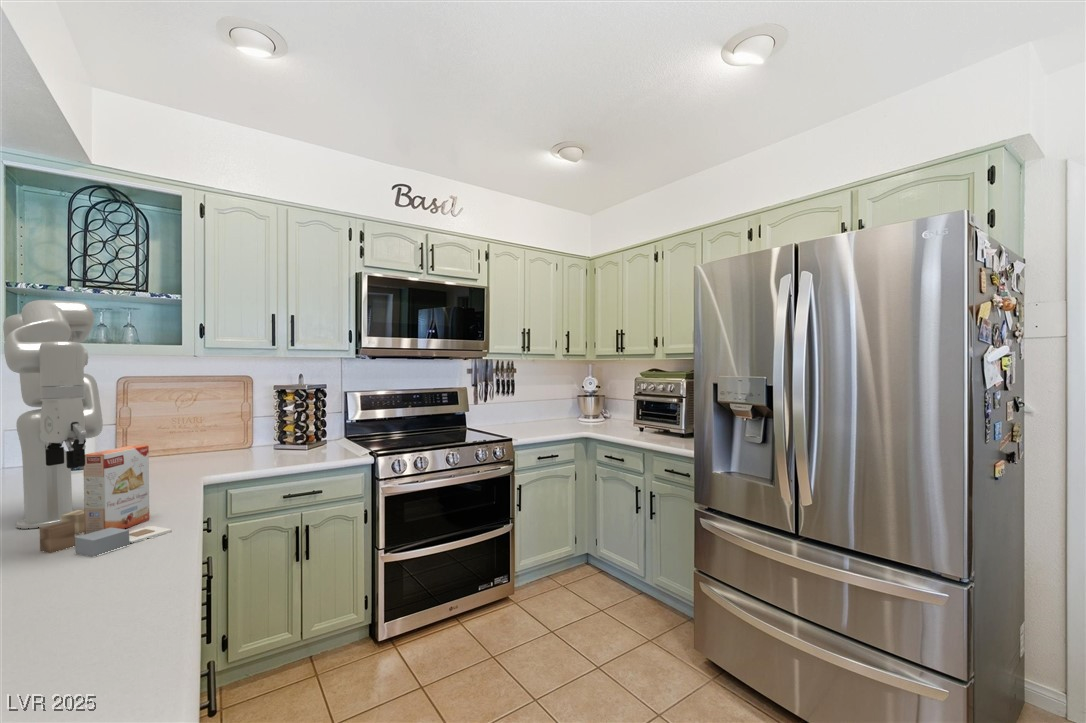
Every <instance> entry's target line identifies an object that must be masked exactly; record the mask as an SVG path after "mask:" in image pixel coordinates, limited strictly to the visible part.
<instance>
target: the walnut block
mask: <svg viewBox="0 0 1086 723" xmlns="http://www.w3.org/2000/svg"><path fill="white" fill-rule="evenodd" d="M75 537H76V534H75V525H74V523H69V522H61V523H56V524H52V525H48V526H44V527H39V550H40V552H43V551H44V552H43V553H47V552H48V554H53V553H56V551H57V552H60V551H59V550H61V551H64V550H67V549H71V548H74V547H75ZM73 546H74V547H73ZM70 547H71V548H70ZM66 548H67V549H66ZM63 549H64V550H63Z"/></svg>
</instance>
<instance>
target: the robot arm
mask: <svg viewBox="0 0 1086 723" xmlns="http://www.w3.org/2000/svg"><path fill="white" fill-rule="evenodd" d="M20 311H21V312H20V313H17V314H12V315H10V316H8V317H6V318H5V320H4V321H3V326H2V328H3V329H2V330H3V335H4V342H3V352H4V358H5V364H6V366H7V368H8V369H9V370H11V372H13V373H17V374H19V383H20V392H21V397H22V401H23V403H24V404H25V405H26V406H28V407H31V408H36V409H31V410H29V411H28V410H27V411H26V412H23V413H21V414H20V415H19V416H18V417H17V419H16V424H15V425H16V431H17V432H16V433H17V435H18V440H19V443H20V449H21V460H22V484H23V486H22V487H23V488H22V489H23V512H24V514H23V515H24V516H23V517H24V519H21V520H18V521H17V522H16V528H17V529H20V528H21V529H22V530H23V529H24V530H25V529H26V530H27V529H28V528H29V529H39V528H40V527H44V526H48V525H52V524H56V523H61V522H62V519H61V515H64V514H67V513H70V512H74V511H75V510H73V490H72V489H73V488H72V485H73V484H72V469H75V468H80V467H83V466H85V454H86V443H87V439H92V438H96V437H98V436H100V435H101V433H102V431H103V425H104V422H103V421H104V420H103V414H102V407H101V402H100V393H99V387H98V383H97V381H96V379H95V378H94V376H92V375H91V374H89V373H86V372H85V367H86V366H87V365H88V363H89V353H88V349H86V348H85V347H84V346H83V345H82V344H81V343H83V342H85V341H86V340H87V339H88V337H89V335H90V333H91V332H92V330H93V327H94V325H95V314H94V312H93V309H92V308H91V306H89V305H88V304H87V303H85V302H82V301H71V300H55V299H54V300H53V299H38V300H33V301H30V302H27V303H26V304H24V306H23V307H22V309H21V310H20ZM84 372H85V373H84ZM37 408H38V409H37ZM64 443H65V446H66V447H67V450H65V446H63V444H64ZM38 527H39V528H38Z"/></svg>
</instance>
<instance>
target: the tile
mask: <svg viewBox="0 0 1086 723" xmlns="http://www.w3.org/2000/svg"><path fill="white" fill-rule="evenodd" d="M172 532H173V529H172V528H166V527H160V526H155V525H154V526H152V525H147V526H145V527H141V528H138V529H134V530H131V531H130V530H129V542H130V543H133V542H136V543H138V542H137V541H140V540H143V541H145V540H144V539H146V540H148V539H147V538H149V539H152V538H151V537H153V538H155V536H156V537H159V536H162V535H166V534H168V533H172ZM158 535H159V536H158ZM140 542H141V541H140ZM133 544H134V543H133Z"/></svg>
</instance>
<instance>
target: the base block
mask: <svg viewBox="0 0 1086 723" xmlns="http://www.w3.org/2000/svg"><path fill="white" fill-rule="evenodd" d="M129 532H130V530H129V529H118V528H111V527H110V528H107V529H103V530H100V531H96V532H92V533H89V534H85V533H84V534H82V535H78V536H75V546H74V548H75V549H74V550H75V551H74V552H75V553H76V554H75V555H79V554H82V555H81V556H85V555H88V556H87V557H90V556H96V557H98V556H97V555H99V554H102V553H105V552H108V551H111V550H114V549H117V548H120V547H123V546H127V545H130V546H131V544H130V542H129Z"/></svg>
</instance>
